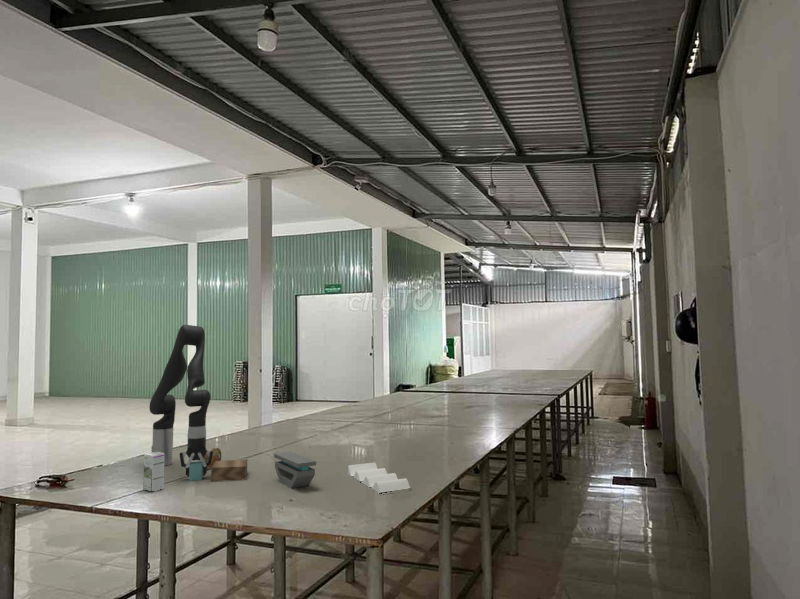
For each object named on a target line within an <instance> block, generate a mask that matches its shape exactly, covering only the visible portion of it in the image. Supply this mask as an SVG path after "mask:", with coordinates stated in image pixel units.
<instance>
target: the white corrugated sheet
mask: <svg viewBox="0 0 800 599" xmlns="http://www.w3.org/2000/svg"><path fill="white" fill-rule="evenodd" d="M347 468H348V469H347V475H350V476H354V478H356V479H357V480H359V481H363V482H362V483H364V484H365V485H367V486H368V487H372V489H374V490H376V491H377V492H378V493H377V492H376V493H377V494H379V493H380V494H382V493H387V492H392V491H397V490H402V489H408V488H410V489H411V486H410V483H409V481H408V479H407V478H406V477H405V478H398V476H397V474H396V473H395V472H393V473H388V472H387V470H386V468H385V467H383V468H381V467H380V468H378V466H377V463H376V462H366V463H365V462H364V463H358V464H357V463H356V464H348V466H347ZM365 485H364V486H365ZM367 486H366V487H367ZM368 487H367V488H368ZM372 489H371V490H372ZM380 494H379V495H380Z"/></svg>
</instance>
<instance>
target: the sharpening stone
mask: <svg viewBox="0 0 800 599" xmlns="http://www.w3.org/2000/svg"><path fill="white" fill-rule="evenodd" d="M273 458H274V459H276V460H279V461H274V469H275V472H276V474H277V478H278V481H279V483H281V484H282V485H284V486H285V485H286V487H287V486H288V488H289V487H290V488H289V489H295V488H302V487H308V486H307V485H309V486H310V484H311V483H312V480H313V479H314V477H315V476H316V471H315V470H316V469H315V468H313V467H314V466H315V467H316V466H317V461H316V460H314V459H312V458H308V457H305V456H303V455H301V454H298V453H296V452H294V451H285V452H278V453H277V452H275V453H273Z"/></svg>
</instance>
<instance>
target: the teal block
mask: <svg viewBox="0 0 800 599" xmlns="http://www.w3.org/2000/svg"><path fill="white" fill-rule="evenodd" d="M189 467H190V468H189V477H188V478H189V479H188V480H189V482H193V480H195V481H202V480H203V464H202V462H201V460H195V461H191V463H190V465H189Z"/></svg>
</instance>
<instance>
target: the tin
mask: <svg viewBox="0 0 800 599" xmlns="http://www.w3.org/2000/svg"><path fill="white" fill-rule="evenodd" d="M211 450H213V455H212V461H211V465H208V466H207V470H211V468H212V466H213V464H214V462H215V461H222V452H221V450H220V448H219V447H215V448H211V449H208V451H211ZM204 459H205V461H206V463H207V462H208V461H209V456H208V453H206V454H205V456H204Z"/></svg>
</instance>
